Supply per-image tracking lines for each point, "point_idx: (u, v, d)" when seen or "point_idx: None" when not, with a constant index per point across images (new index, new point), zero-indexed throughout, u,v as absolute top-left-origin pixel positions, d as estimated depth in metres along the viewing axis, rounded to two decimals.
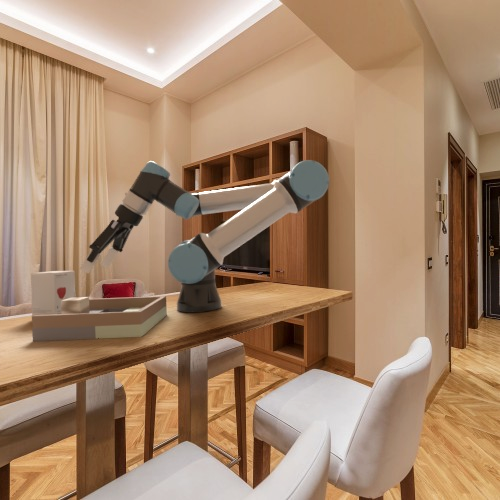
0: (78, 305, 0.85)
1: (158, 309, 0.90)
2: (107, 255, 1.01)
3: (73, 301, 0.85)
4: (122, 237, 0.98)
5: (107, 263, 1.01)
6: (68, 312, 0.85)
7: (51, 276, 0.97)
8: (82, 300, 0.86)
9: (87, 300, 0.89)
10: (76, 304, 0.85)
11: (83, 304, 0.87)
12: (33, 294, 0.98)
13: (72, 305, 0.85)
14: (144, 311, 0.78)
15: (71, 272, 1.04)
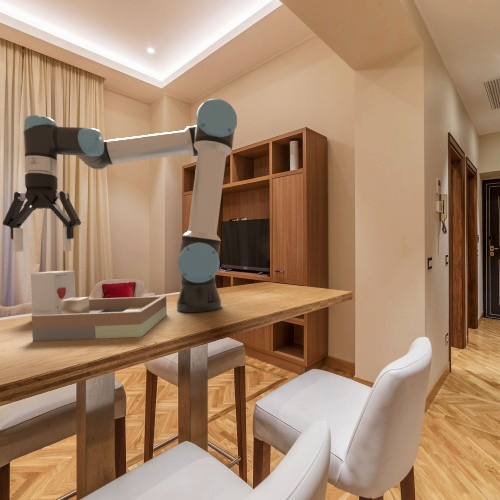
0: (78, 305, 0.85)
1: (158, 309, 0.90)
2: (17, 237, 0.87)
3: (73, 301, 0.85)
4: (34, 209, 0.88)
5: (21, 246, 0.88)
6: (68, 312, 0.85)
7: (51, 276, 0.97)
8: (82, 300, 0.86)
9: (87, 300, 0.89)
10: (76, 304, 0.85)
11: (83, 304, 0.87)
12: (33, 294, 0.98)
13: (72, 305, 0.85)
14: (144, 311, 0.78)
15: (71, 272, 1.04)
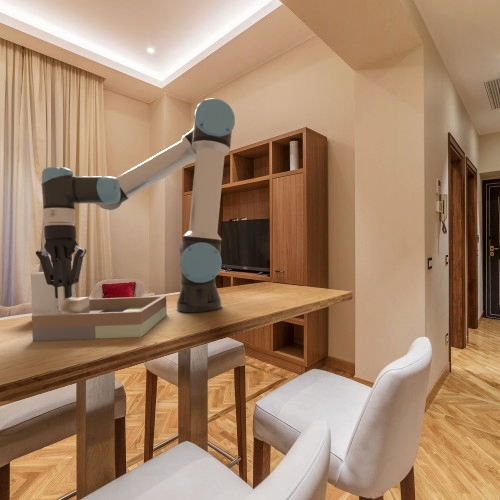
0: (78, 305, 0.85)
1: (158, 309, 0.90)
2: None
3: (73, 301, 0.85)
4: None
5: None
6: (68, 312, 0.85)
7: None
8: (82, 300, 0.86)
9: (87, 300, 0.89)
10: (76, 304, 0.85)
11: (83, 304, 0.87)
12: (33, 294, 0.98)
13: (72, 305, 0.85)
14: (144, 311, 0.78)
15: None
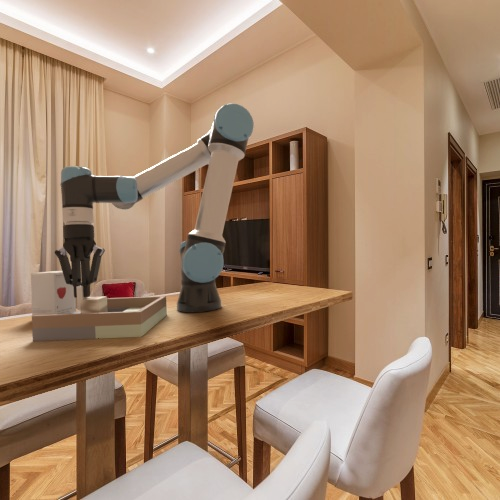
0: (97, 305, 0.85)
1: (158, 309, 0.90)
2: None
3: (92, 300, 0.85)
4: (80, 259, 0.88)
5: None
6: (87, 311, 0.85)
7: (51, 276, 0.97)
8: (101, 299, 0.86)
9: (105, 299, 0.89)
10: (95, 303, 0.85)
11: (102, 303, 0.87)
12: (33, 294, 0.98)
13: (91, 304, 0.85)
14: (144, 311, 0.78)
15: None
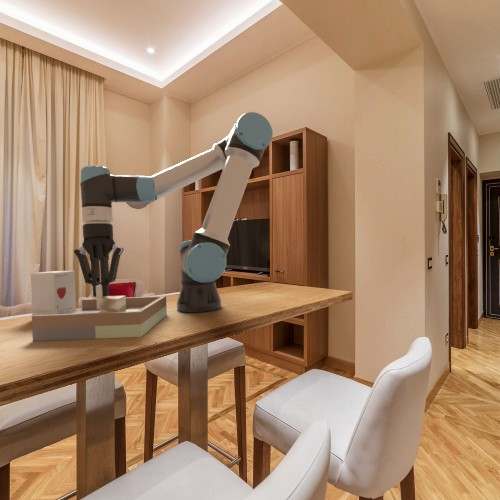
0: (117, 304, 0.85)
1: (158, 309, 0.90)
2: None
3: (112, 300, 0.85)
4: (99, 258, 0.88)
5: None
6: (107, 310, 0.85)
7: (51, 276, 0.97)
8: (120, 299, 0.86)
9: (124, 299, 0.89)
10: (114, 303, 0.85)
11: (121, 303, 0.87)
12: (33, 294, 0.98)
13: (111, 304, 0.85)
14: (144, 311, 0.78)
15: (71, 272, 1.04)
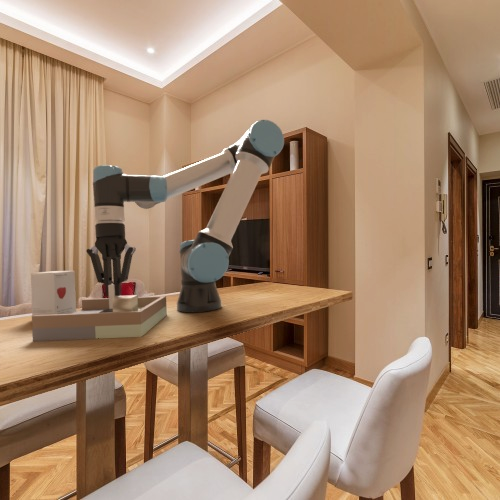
0: (130, 303, 0.85)
1: (158, 309, 0.90)
2: None
3: (124, 299, 0.85)
4: (111, 258, 0.88)
5: None
6: (119, 310, 0.85)
7: (51, 276, 0.97)
8: (132, 298, 0.86)
9: (136, 298, 0.89)
10: (127, 302, 0.85)
11: (133, 302, 0.87)
12: (33, 294, 0.98)
13: (123, 303, 0.85)
14: (144, 311, 0.78)
15: (71, 272, 1.04)
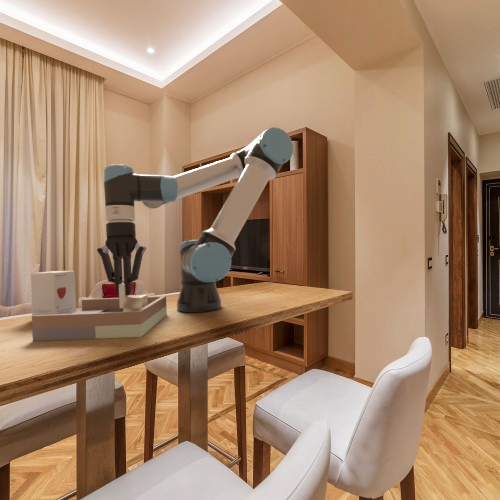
0: (140, 303, 0.85)
1: (158, 309, 0.90)
2: None
3: (135, 299, 0.85)
4: (121, 257, 0.88)
5: None
6: (130, 310, 0.85)
7: (51, 276, 0.97)
8: (143, 298, 0.86)
9: (146, 298, 0.89)
10: (137, 302, 0.85)
11: (143, 302, 0.87)
12: (33, 294, 0.98)
13: (134, 303, 0.85)
14: (144, 311, 0.78)
15: (71, 272, 1.04)
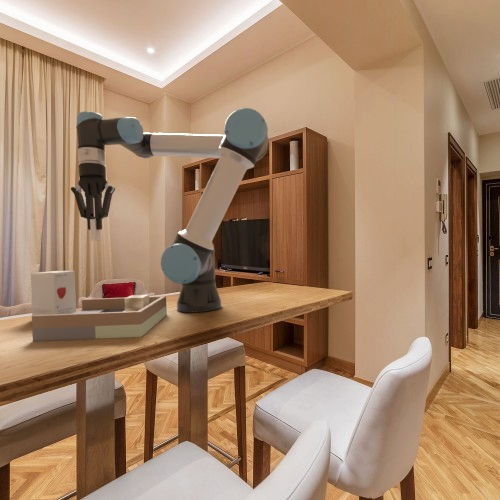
0: (142, 303, 0.85)
1: (158, 309, 0.90)
2: None
3: (136, 299, 0.85)
4: (93, 196, 0.99)
5: None
6: (131, 310, 0.85)
7: (51, 276, 0.97)
8: (144, 298, 0.86)
9: (147, 298, 0.89)
10: (139, 302, 0.85)
11: (145, 302, 0.87)
12: (33, 294, 0.98)
13: (135, 303, 0.85)
14: (144, 311, 0.78)
15: (71, 272, 1.04)
